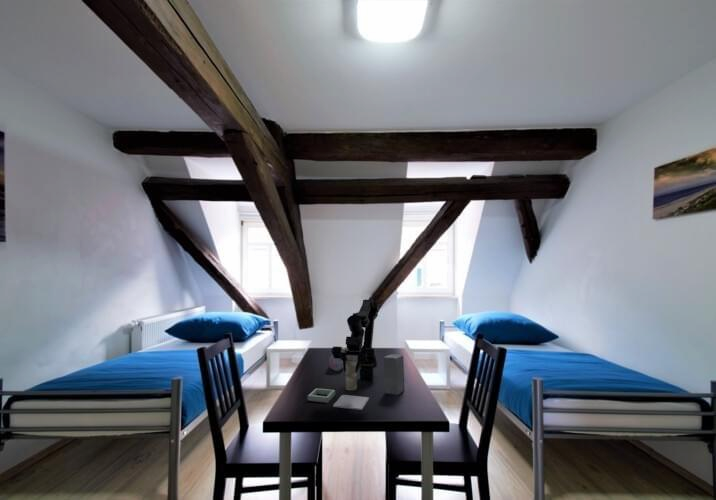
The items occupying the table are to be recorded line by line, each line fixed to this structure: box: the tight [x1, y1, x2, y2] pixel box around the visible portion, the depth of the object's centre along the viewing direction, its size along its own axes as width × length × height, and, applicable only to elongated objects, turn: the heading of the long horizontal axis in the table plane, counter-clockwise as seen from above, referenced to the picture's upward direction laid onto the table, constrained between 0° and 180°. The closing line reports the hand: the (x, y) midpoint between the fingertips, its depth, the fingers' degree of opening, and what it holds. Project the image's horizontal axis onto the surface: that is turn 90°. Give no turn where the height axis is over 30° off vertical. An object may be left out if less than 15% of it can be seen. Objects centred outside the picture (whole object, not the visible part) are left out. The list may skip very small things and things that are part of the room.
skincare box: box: [383, 353, 406, 396], centre depth 151 cm, size 8×7×16 cm
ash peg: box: [345, 359, 358, 391], centre depth 139 cm, size 4×4×11 cm
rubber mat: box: [332, 394, 370, 411], centre depth 138 cm, size 12×12×1 cm
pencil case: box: [328, 346, 349, 372], centre depth 191 cm, size 21×9×10 cm, turn 177°
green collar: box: [307, 388, 336, 404], centre depth 144 cm, size 9×9×2 cm
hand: (350, 371), depth 138 cm, fingers closed on ash peg, 4 cm apart
